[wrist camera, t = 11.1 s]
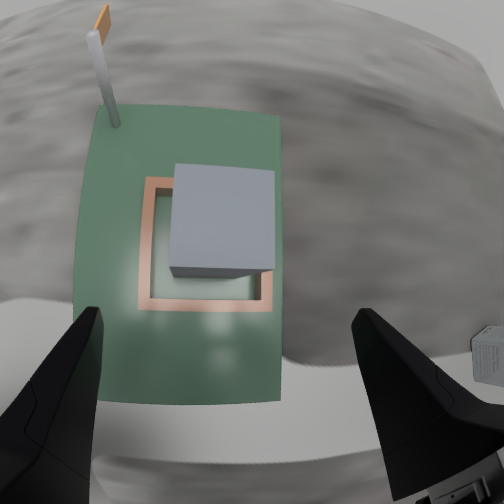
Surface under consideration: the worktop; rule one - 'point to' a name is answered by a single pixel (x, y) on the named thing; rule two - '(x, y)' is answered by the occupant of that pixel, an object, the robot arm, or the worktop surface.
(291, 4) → the worktop surface
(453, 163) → the worktop surface
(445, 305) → the worktop surface
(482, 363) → the skincare box
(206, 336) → the green base plate
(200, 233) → the grey block
